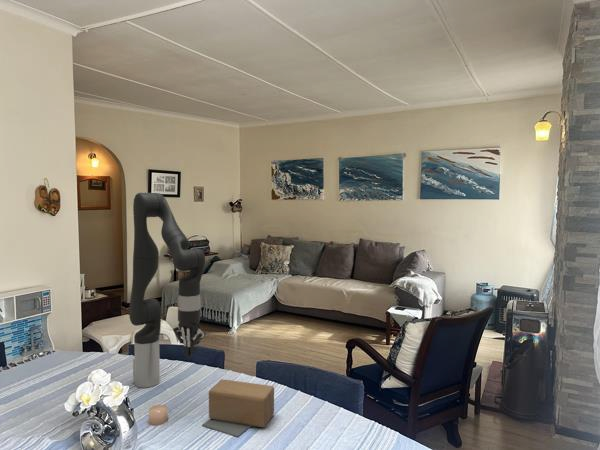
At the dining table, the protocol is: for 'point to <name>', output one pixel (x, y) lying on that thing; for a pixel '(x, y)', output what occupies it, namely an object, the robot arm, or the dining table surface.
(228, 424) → the mat
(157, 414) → the tan rounded lump
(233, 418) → the block
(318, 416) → the dining table surface
